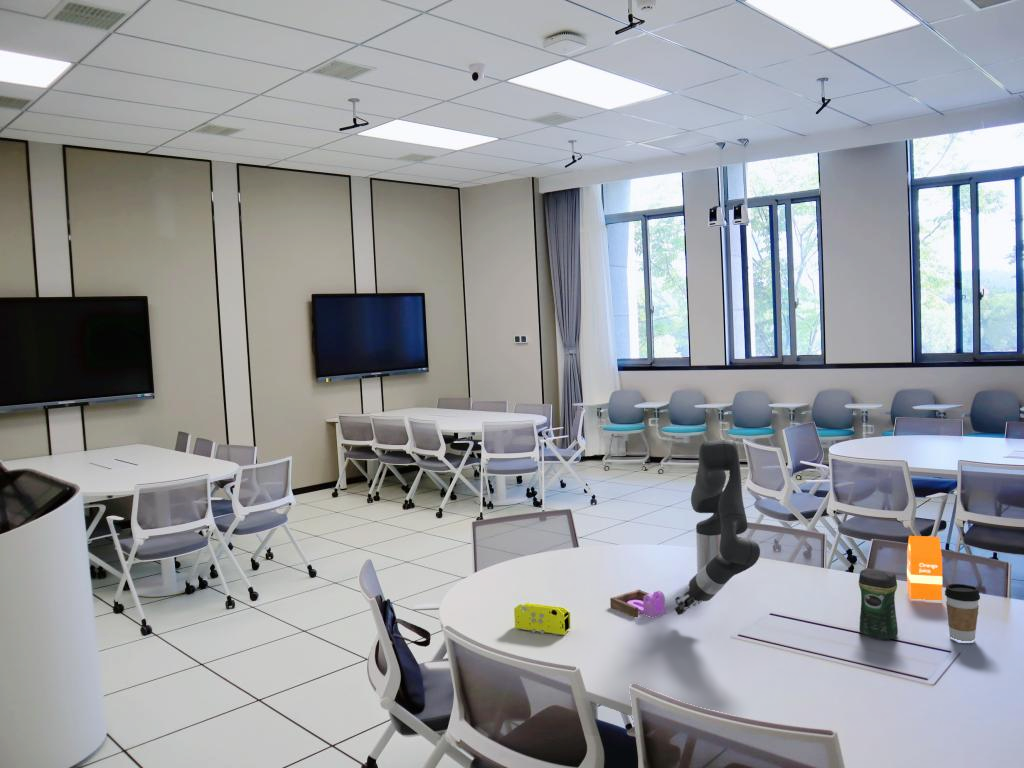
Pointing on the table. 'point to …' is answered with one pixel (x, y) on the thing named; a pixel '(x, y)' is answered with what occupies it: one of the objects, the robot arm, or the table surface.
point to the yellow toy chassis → (542, 618)
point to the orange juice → (924, 568)
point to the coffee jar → (878, 604)
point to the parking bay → (623, 606)
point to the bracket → (650, 604)
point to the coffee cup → (962, 610)
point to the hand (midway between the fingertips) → (678, 611)
